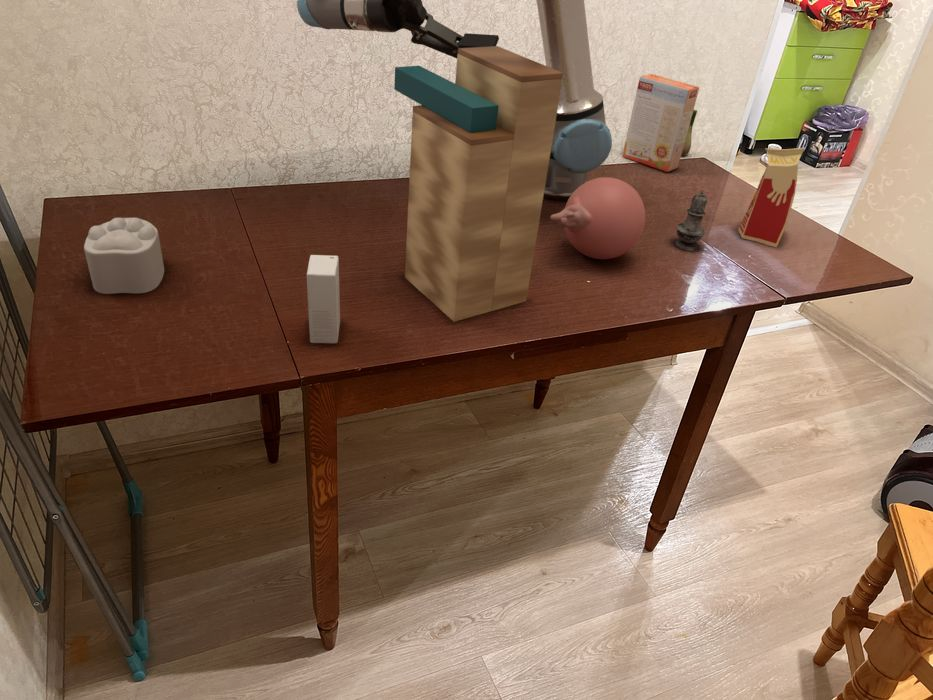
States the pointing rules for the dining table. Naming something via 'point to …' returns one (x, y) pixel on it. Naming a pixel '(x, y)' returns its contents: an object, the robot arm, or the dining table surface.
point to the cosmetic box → (323, 298)
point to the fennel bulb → (689, 135)
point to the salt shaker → (692, 224)
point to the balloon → (603, 218)
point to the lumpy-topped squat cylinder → (124, 256)
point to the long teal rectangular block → (446, 98)
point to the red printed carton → (772, 198)
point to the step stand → (481, 187)
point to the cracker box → (660, 122)
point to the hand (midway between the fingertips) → (484, 12)
